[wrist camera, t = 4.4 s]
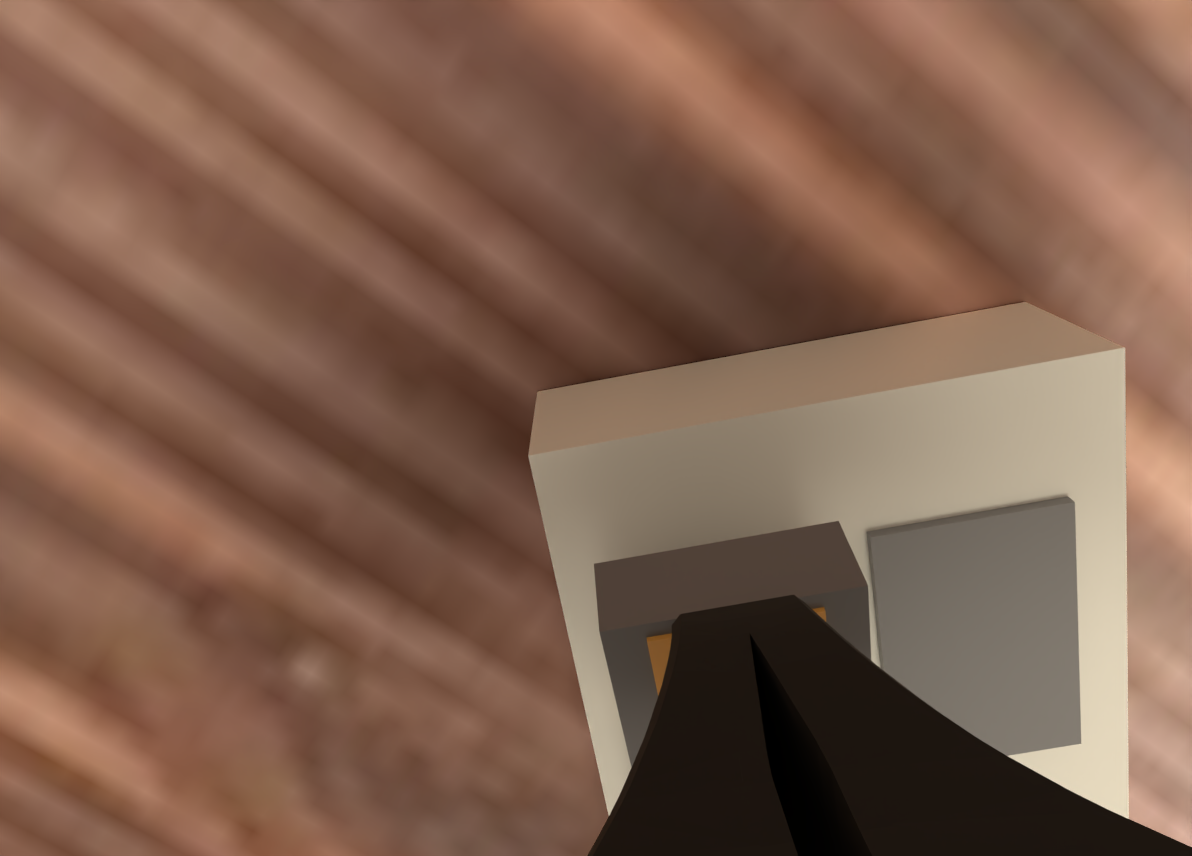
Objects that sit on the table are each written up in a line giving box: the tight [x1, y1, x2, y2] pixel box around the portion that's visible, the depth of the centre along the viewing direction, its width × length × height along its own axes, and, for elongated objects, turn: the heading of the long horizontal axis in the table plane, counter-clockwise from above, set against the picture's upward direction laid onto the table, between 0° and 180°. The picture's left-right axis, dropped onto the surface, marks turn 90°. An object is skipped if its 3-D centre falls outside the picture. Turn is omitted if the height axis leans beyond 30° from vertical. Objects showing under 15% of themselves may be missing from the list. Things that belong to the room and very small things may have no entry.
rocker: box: [594, 521, 871, 767], centre depth 13 cm, size 3×6×1 cm, turn 11°
